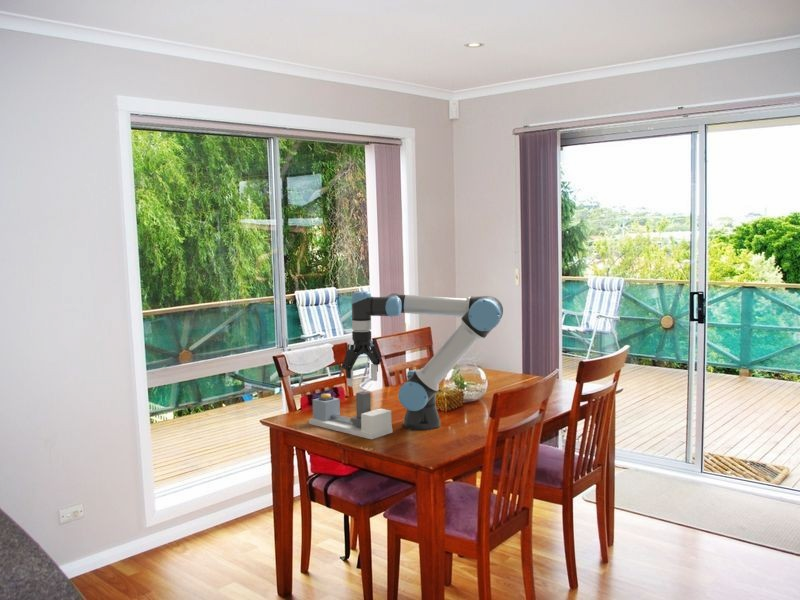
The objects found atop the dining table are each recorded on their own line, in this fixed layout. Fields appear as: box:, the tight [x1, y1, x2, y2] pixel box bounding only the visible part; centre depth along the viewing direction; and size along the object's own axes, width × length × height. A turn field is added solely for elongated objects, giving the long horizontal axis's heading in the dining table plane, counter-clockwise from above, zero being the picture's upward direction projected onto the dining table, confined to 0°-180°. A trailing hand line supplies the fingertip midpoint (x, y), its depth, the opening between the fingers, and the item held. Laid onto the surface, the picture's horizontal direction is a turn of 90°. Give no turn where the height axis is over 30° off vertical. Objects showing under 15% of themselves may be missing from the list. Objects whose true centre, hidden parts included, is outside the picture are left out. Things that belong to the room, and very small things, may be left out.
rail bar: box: [331, 414, 353, 425], centre depth 295 cm, size 22×2×2 cm, turn 49°
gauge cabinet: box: [312, 397, 341, 421], centre depth 305 cm, size 8×8×8 cm
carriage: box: [349, 391, 372, 427], centre depth 290 cm, size 7×8×13 cm
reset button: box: [318, 393, 334, 401], centre depth 304 cm, size 4×4×5 cm
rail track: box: [308, 408, 394, 440], centre depth 296 cm, size 36×12×9 cm, turn 49°
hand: (362, 383), depth 289 cm, fingers open, 13 cm apart
